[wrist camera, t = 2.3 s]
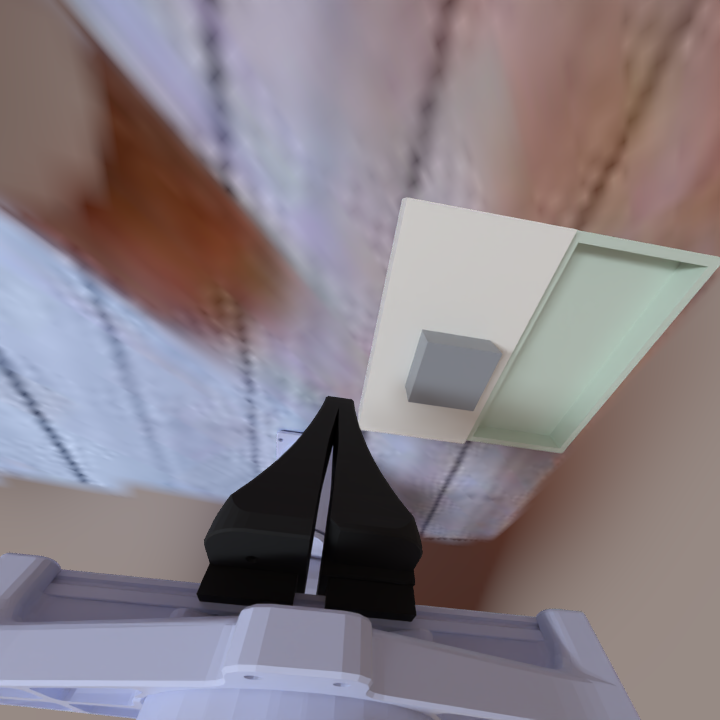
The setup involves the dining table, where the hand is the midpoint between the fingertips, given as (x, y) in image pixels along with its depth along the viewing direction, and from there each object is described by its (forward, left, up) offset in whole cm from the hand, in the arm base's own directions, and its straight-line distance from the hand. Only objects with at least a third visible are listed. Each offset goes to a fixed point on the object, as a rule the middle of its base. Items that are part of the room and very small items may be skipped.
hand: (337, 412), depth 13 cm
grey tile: (0, -7, -7) cm, 10 cm away
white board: (+1, -7, -9) cm, 12 cm away
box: (+1, -17, -9) cm, 20 cm away
